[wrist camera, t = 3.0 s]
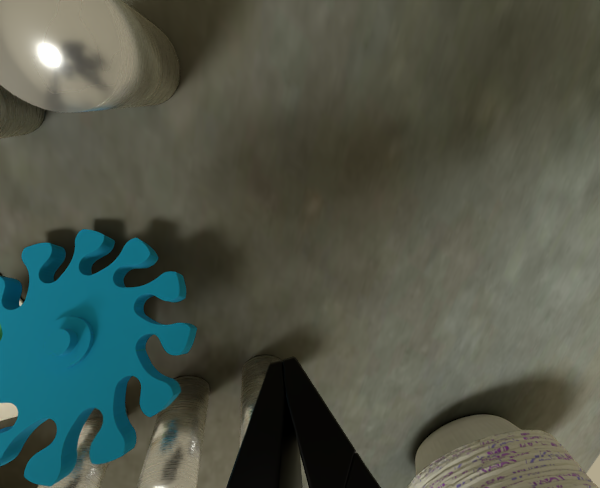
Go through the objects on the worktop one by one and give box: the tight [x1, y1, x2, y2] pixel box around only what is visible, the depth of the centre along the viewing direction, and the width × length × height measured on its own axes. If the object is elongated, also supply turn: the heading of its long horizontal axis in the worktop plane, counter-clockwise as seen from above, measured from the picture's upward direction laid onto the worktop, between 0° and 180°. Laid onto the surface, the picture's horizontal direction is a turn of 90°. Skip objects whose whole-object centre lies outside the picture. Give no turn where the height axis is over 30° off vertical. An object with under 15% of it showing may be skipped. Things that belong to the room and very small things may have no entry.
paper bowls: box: [407, 414, 598, 488], centre depth 27 cm, size 15×15×8 cm
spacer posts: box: [0, 0, 280, 488], centre depth 13 cm, size 14×22×6 cm, turn 11°
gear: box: [0, 229, 197, 487], centre depth 14 cm, size 11×6×10 cm
